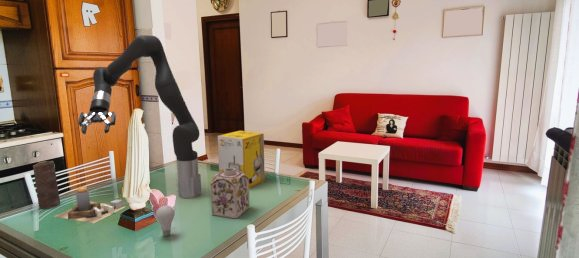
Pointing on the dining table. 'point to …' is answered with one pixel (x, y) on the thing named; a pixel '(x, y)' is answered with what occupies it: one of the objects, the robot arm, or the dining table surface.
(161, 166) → the dining table surface
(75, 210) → the holder
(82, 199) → the connector
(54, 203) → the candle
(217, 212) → the decorative jar
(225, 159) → the packaging box
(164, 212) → the lightbulb
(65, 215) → the board
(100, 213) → the cable route
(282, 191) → the dining table surface
